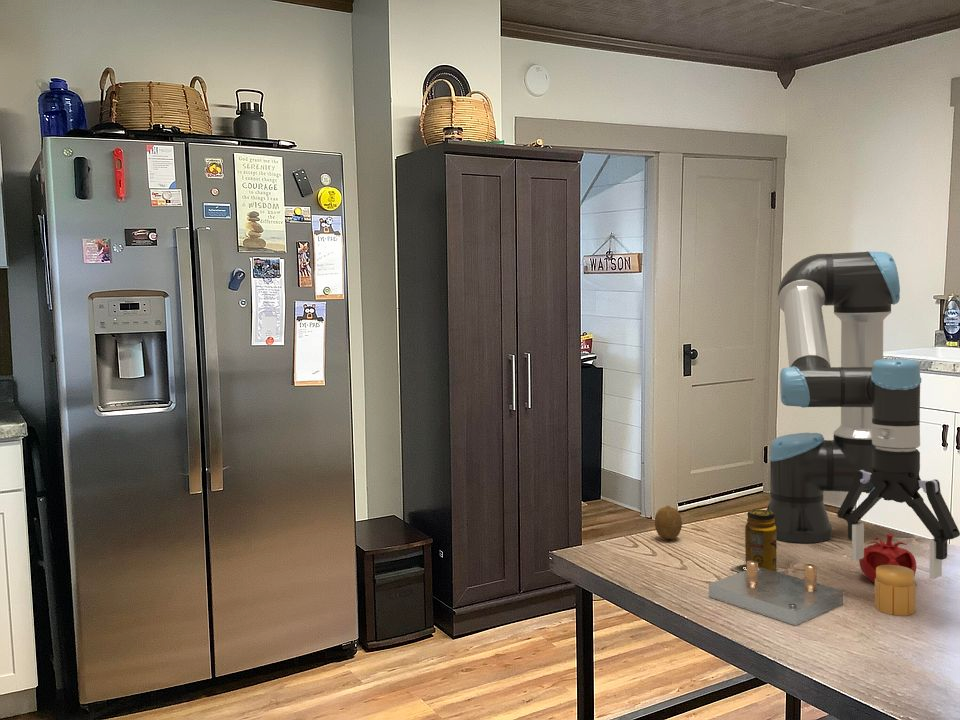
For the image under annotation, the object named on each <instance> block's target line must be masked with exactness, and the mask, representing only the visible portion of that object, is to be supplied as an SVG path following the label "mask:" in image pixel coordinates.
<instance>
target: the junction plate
mask: <svg viewBox="0 0 960 720" xmlns="http://www.w3.org/2000/svg"><path fill="white" fill-rule="evenodd" d="M708 597H709V598H711V599H714V600H717V601H720V602H723V603H726V604H729V605H732V606H734V607H735V606H736V607H739V608H741V609H744V610H746V611H750V612H753V613H756V614H759V615H762V616H766V617H768V618H771V619H774V620H776V621H780V622H783V623H785V624H789V625H792V626H798V625H800V624H802V623H805V622H807V621H809V620H812V619H813V618H816V617H818V616H820V615H822V614H824V613H827V612H829V611H831V610H833V609H835V608H838V607H840V606H842V605H844V590H843V589H839V588H835V587H833V586H829V585H826V584H822V583H817V565H816V564H814V563H813V564H812V563H805V564H804V578H800V577H796V576H793V575H789V574H785V573H782V572H775V571H772V570H768V569H765V568H761V567H758V562H757V561H747V570H746V571H743V572H740V573H739V572H737V573H735V574H732V575H729V576H727V577H726V576H725V577H724V578H721V579H717V580H716V581H712V582H710V583H708Z"/></svg>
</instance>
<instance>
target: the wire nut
mask: <svg viewBox="0 0 960 720" xmlns="http://www.w3.org/2000/svg"><path fill="white" fill-rule="evenodd" d="M874 607H875V609H877V610H878V611H879V612H881V613H885V614H888V615H891V616H910V615H913V614H914V613H916V583H915V576H914V571H913V570H912V569H910V568H907V567H903V566H898V565H880V566H877V567H876V578H875V583H874Z"/></svg>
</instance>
